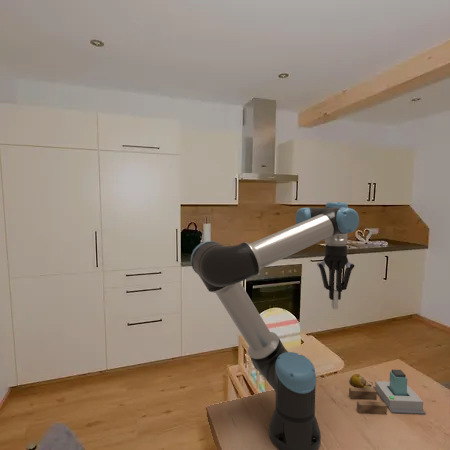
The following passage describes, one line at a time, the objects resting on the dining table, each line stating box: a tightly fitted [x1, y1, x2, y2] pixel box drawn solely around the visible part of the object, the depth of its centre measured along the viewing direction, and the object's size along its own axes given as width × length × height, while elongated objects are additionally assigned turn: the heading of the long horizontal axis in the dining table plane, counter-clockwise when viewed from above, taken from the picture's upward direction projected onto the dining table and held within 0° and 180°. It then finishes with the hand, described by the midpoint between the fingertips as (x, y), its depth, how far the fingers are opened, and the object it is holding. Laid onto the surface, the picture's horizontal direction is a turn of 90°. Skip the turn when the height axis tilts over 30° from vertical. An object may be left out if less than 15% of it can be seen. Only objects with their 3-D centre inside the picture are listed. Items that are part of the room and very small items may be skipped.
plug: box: [389, 369, 408, 396], centre depth 104 cm, size 4×4×10 cm
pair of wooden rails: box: [348, 387, 388, 415], centre depth 102 cm, size 9×9×3 cm
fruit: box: [349, 373, 374, 388], centre depth 114 cm, size 8×8×4 cm
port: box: [372, 380, 427, 416], centre depth 105 cm, size 11×14×4 cm
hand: (334, 308), depth 107 cm, fingers closed
